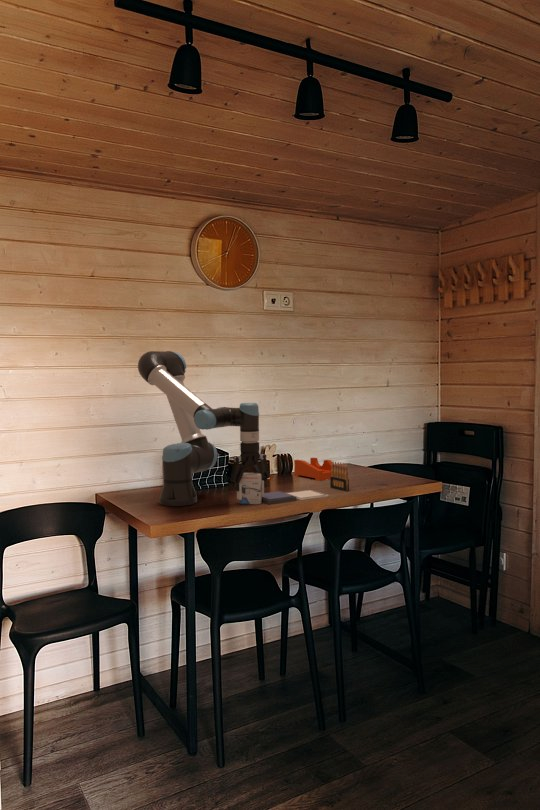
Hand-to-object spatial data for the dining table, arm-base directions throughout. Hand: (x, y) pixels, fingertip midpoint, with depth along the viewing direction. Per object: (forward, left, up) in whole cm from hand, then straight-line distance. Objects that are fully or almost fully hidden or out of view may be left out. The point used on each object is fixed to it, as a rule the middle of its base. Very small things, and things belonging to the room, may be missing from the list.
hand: (250, 497), depth 253 cm
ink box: (0, 0, -2) cm, 2 cm away
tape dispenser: (+55, +34, -3) cm, 65 cm away
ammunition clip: (+46, +3, -2) cm, 46 cm away
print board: (+26, 0, -2) cm, 26 cm away
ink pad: (+11, 0, -2) cm, 11 cm away
